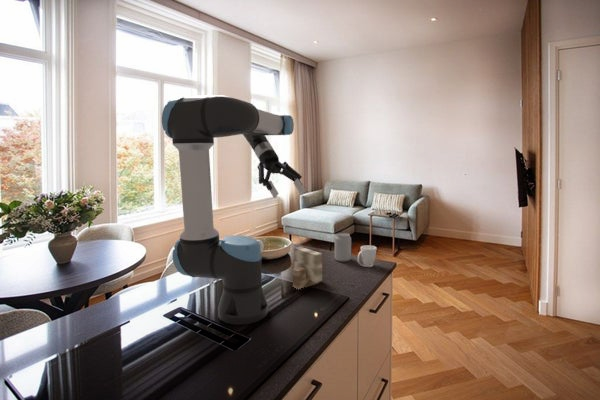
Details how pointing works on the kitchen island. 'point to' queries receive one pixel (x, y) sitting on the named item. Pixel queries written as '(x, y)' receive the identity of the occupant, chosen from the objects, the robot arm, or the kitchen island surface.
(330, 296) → the kitchen island surface
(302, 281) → the oak slot board
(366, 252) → the cup
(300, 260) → the cream wavy slab
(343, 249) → the can
